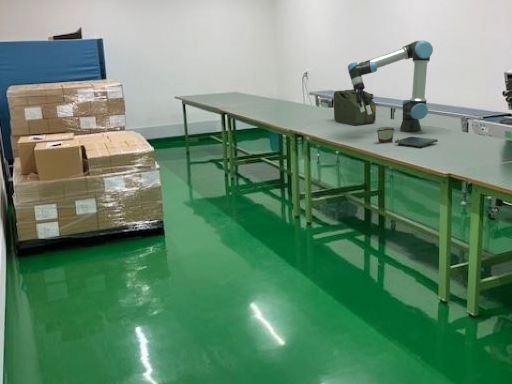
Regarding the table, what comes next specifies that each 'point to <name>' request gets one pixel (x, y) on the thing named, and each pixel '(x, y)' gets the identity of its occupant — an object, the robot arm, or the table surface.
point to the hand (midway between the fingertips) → (366, 113)
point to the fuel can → (352, 108)
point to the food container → (385, 134)
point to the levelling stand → (415, 141)
